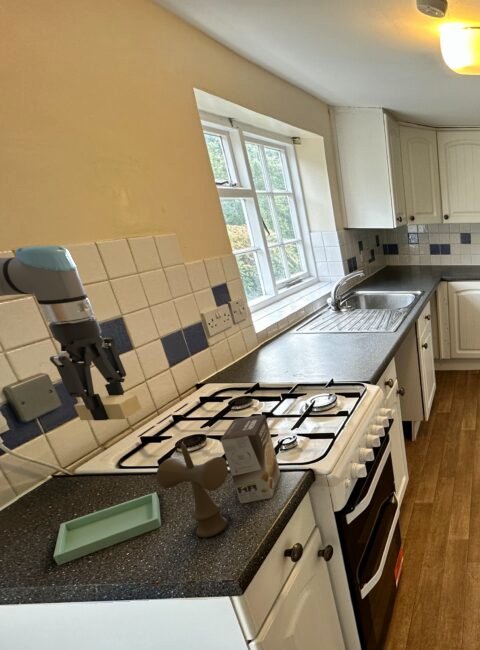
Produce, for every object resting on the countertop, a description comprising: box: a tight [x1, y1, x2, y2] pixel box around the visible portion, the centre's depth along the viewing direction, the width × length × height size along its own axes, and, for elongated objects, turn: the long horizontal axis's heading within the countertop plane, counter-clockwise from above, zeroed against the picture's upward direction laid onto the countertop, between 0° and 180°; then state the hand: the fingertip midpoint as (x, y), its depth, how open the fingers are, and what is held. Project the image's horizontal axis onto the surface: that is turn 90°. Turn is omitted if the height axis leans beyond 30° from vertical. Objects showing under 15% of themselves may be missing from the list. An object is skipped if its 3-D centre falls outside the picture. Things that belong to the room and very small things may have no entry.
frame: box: [53, 491, 162, 566], centre depth 80 cm, size 14×10×2 cm
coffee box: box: [219, 414, 281, 504], centre depth 89 cm, size 9×6×16 cm
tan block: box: [73, 394, 142, 421], centre depth 97 cm, size 10×5×4 cm, turn 93°
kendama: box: [156, 442, 229, 538], centre depth 77 cm, size 6×10×20 cm, turn 88°
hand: (111, 413), depth 98 cm, fingers closed on tan block, 5 cm apart
